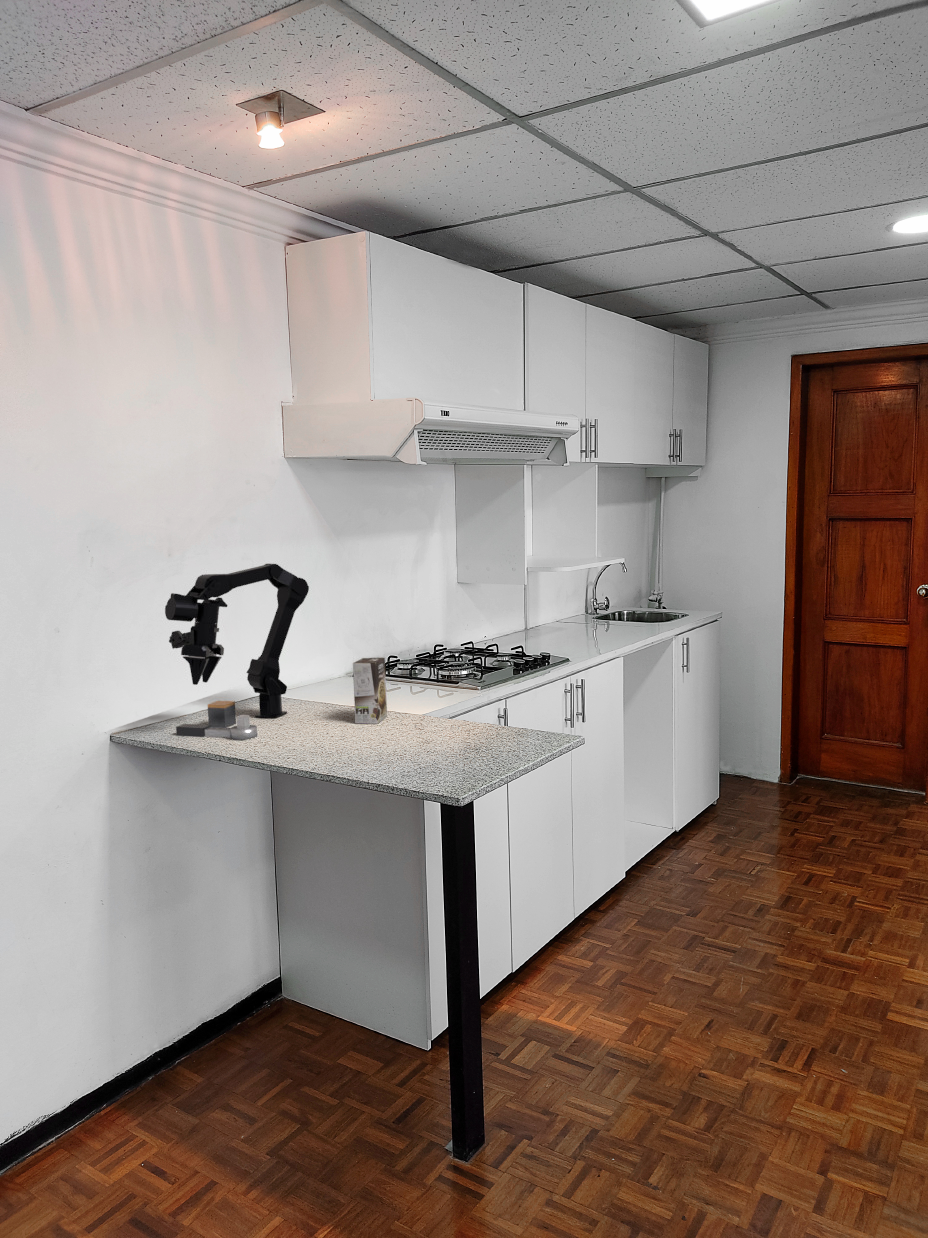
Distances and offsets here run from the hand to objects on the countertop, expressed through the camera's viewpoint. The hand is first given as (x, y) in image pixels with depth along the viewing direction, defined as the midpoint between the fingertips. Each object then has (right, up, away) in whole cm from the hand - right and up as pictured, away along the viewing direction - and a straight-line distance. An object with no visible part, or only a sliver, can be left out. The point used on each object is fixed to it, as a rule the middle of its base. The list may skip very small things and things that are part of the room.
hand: (200, 683), depth 239 cm
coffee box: (+44, -10, +6) cm, 45 cm away
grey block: (+4, -11, +5) cm, 13 cm away
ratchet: (+6, -13, -6) cm, 15 cm away
